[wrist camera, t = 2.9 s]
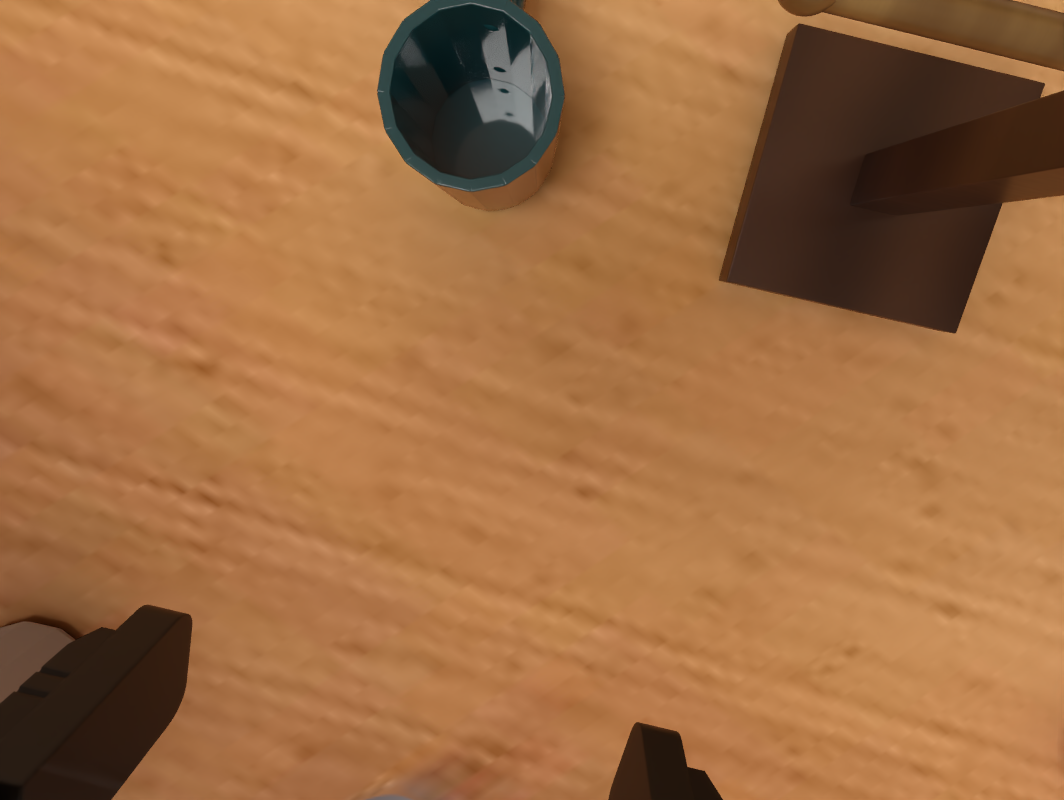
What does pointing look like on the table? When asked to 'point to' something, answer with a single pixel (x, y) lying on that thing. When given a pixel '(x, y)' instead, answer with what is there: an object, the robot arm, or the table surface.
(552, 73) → the mug
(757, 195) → the mug stand
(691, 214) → the table surface
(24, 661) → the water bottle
